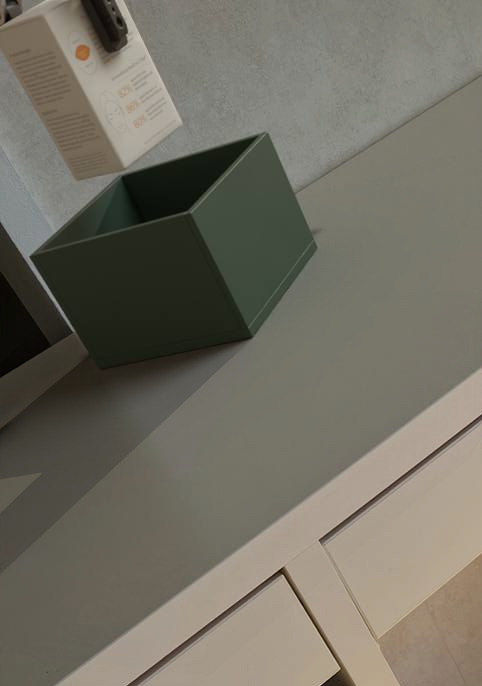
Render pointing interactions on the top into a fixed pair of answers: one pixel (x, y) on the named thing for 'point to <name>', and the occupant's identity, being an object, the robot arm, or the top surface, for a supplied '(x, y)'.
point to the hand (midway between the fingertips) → (81, 61)
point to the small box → (89, 87)
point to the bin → (179, 254)
